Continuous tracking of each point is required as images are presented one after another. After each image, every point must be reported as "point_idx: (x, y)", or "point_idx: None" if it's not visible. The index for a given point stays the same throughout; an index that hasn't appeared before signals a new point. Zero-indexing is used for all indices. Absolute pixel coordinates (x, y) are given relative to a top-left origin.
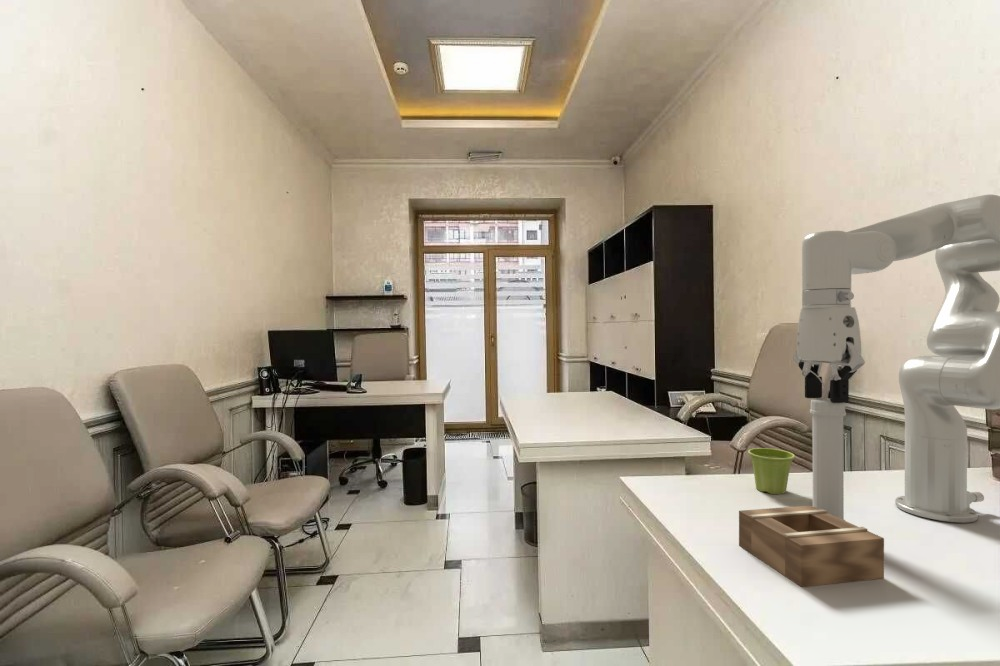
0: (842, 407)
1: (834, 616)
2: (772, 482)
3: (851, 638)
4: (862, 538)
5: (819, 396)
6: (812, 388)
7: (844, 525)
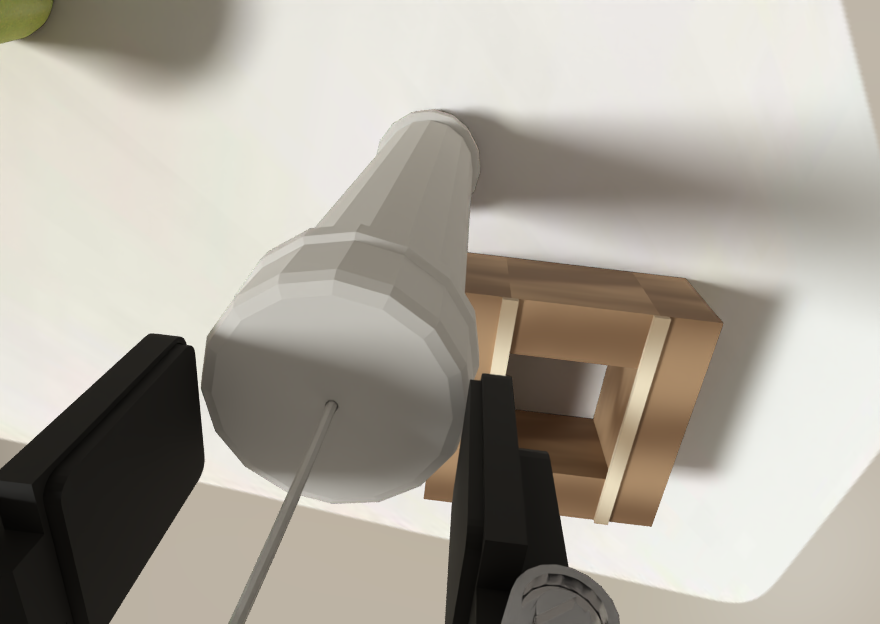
0: (468, 362)
1: (724, 488)
2: (20, 18)
3: (776, 514)
4: (695, 377)
5: (189, 370)
6: (157, 496)
7: (614, 341)
